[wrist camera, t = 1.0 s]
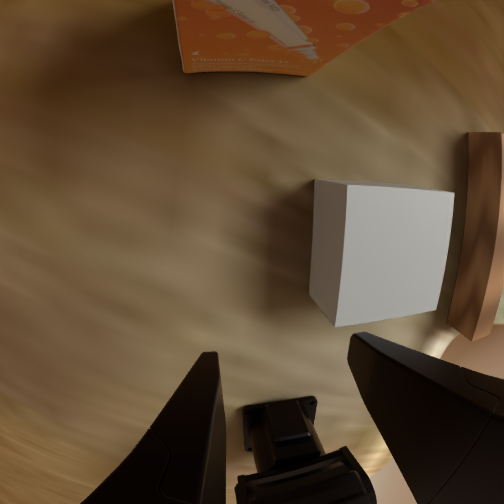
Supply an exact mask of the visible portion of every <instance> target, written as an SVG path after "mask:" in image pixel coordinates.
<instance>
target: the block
mask: <svg viewBox="0 0 504 504" xmlns="http://www.w3.org/2000/svg"><path fill="white" fill-rule="evenodd" d="M453 205H454V193H453V192H448V191H442V190H437V189H432V188H427V187H421V186H415V185H408V184H396V183H382V182H367V181H350V180H327V179H315V183H314V214H313V237H312V255H311V271H310V286H309V295H310V296H311V298H312V299H313V300H314V302H315V303H316V304H317V305H318V307H319V308H320V309H321V310H322V312H323V313H324V314H325V315H326V317H327V318H328V319H329V321H330V322H331V323H332V324H333V326H334V327H341V326H348V325H355V324H362V323H368V322H374V321H380V320H386V319H392V318H397V317H403V316H408V315H413V314H419V313H424V312H428V311H433V310H436V308H437V304H438V299H439V295H440V290H441V286H442V281H443V276H444V271H445V265H446V259H447V253H448V247H449V240H450V233H451V225H452V216H453Z"/></svg>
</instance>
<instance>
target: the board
mask: <svg viewBox="0 0 504 504" xmlns="http://www.w3.org/2000/svg"><path fill="white" fill-rule="evenodd" d="M468 151H469V159H468V190H467V205H466V217H465V226H464V235H463V242H462V249H461V256H460V262H459V268H458V273H457V279H456V284H455V288H454V293H453V298H452V302H451V306H450V310H449V315H448V318H447V322H446V323H448V324H449V325H450V326H452V327H453V328H454V329H456V330H457V331H458V332H460V333H461V334H462V335H464V336H465V337H466V338H468V339H469V340H470V341H475V340H477V339H480V338H482V337H484V336H486V335H489V334H490V331H491V328H492V325H493V322H494V319H495V315H496V312H497V308H498V305H499V301H500V297H501V293H502V289H503V285H504V133H498V132H468Z"/></svg>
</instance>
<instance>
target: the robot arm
mask: <svg viewBox="0 0 504 504" xmlns="http://www.w3.org/2000/svg"><path fill="white" fill-rule="evenodd" d="M347 360H348V364H349V367H350V369H351V372H352V374H353V377H354V379H355V382H356V384H357V387H358V389H359V392H360V394H361V397H362V399H363V401H364V404H365V406H366V408H367V409H368V411H369V413H370V415H371V417H372V419H373V420H374V422H375V424H376V426H377V428H378V430H379V432H380V433H381V435H382V437H383V439H384V441H385V443H386V445H387V446H388V448H389V450H390V452H391V454H392V456H393V458H394V460H395V462H396V463H397V465H398V467H399V469H400V471H401V473H402V475H403V477H404V479H405V481H406V482H407V484H408V486H409V488H410V490H411V492H412V494H413V496H414V498H415V500H416V502H417V504H504V379H500V378H497V377H493V376H489V375H485V374H482V373H479V372H476V371H472V370H470V369H467V368H464V367H461V368H460V366H458V365H455V364H452V363H449V362H446V361H444V360H441V359H438V358H435V357H432V356H430V355H427V354H424V353H421V352H418V351H416V350H413V349H410V348H407V347H405V346H402V345H399V344H397V343H394V342H391V341H389V340H386V339H383V338H381V337H378V336H375V335H373V334H370V333H367V332H359V333H354V334H353V335H352V336H351V338H350V344H349V350H348V357H347ZM311 401H312V402H311ZM316 407H317V399H316V398H315V397H314V396H309V397H304V398H298V399H292V400H286V401H280V402H273V403H266V404H258V405H250V406H245V407H244V408H243V409H242V415H243V431H244V446H245V450H246V451H247V452H253V456H254V460H255V465H256V469H257V473H255V474H250V475H240V476H238V484H236V487H234V488H235V494H236V501H237V504H377V500H376V495H375V491H374V488H373V486H372V483H371V481H370V479H369V477H368V475H367V474H366V472H365V471H364V470H363V468H362V467H361V466H360V464H359V463H358V462H357V460H356V459H355V457H354V456H353V455H352V453H351V452H350V451H349V449H348V448H347V446H344V447H342V448H339V450H336V451H333V452H331V453H328V454H326V453H325V451H324V449H323V447H322V444H321V442H320V440H319V438H318V435H317V433H316V431H315V428H314V426H313V425H314V419H315V413H316ZM247 411H249V412H247ZM80 504H226V421H225V412H224V404H223V395H222V386H221V376H220V368H219V359H218V353H217V352H216V351H213V352H203V353H202V354H201V355H200V356H199V358H198V359H197V361H196V362H195V364H194V365H193V366H192V368H191V369H190V371H189V372H188V374H187V375H186V377H185V378H184V379H183V381H182V382H181V384H180V385H179V387H178V388H177V389H176V391H175V392H174V394H173V395H172V397H171V398H170V399H169V401H168V402H167V404H166V405H165V406H164V408H163V409H162V411H161V412H160V414H159V415H158V416H157V418H156V419H155V421H154V422H153V423H152V425H151V426H150V429H148V430H147V432H146V433H145V434H144V436H143V437H142V439H141V440H140V441H139V442H138V444H137V445H136V446H135V448H134V449H133V450H132V452H131V453H130V454H129V455H128V456H127V457H126V458H125V459H124V460H123V462H122V463H121V464H120V465H119V466H118V467H117V468H116V469H115V470H114V471H113V472H112V473H111V474H110V475H109V476H108V477H107V478H106V479H105V480H104V481H103V482H102V483H101V484H100V485H99V486H98V487H97V488H96V489H95V490H94V491H93V492H92V493H91V494H90V495H89V496H88V497H87V498H86V499H85V500H84V501H83V502H81V503H80Z"/></svg>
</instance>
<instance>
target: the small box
mask: <svg viewBox="0 0 504 504" xmlns="http://www.w3.org/2000/svg"><path fill="white" fill-rule="evenodd" d="M431 1H433V0H173V8H174V15H175V21H176V28H177V35H178V43H179V49H180V54H181V59H182V65H183V71H184V73H196V72H213V71H247V72H266V73H280V74H290V75H299V76H310V75H312V74H313V73H314V72H316V71H317V70H319V69H320V68H322V67H323V66H324V65H326V64H327V63H329V62H330V61H332V60H333V59H335V58H336V57H338V56H339V55H341V54H342V53H344V52H345V51H347V50H348V49H350V48H351V47H353V46H355V45H356V44H358V43H359V42H361V41H362V40H364V39H366V38H367V37H369V36H371V35H372V34H374V33H375V32H377V31H379V30H380V29H382V28H384V27H385V26H387V25H389V24H391V23H393V22H394V21H396V20H398V19H400V18H401V17H403V16H405V15H407V14H409V13H410V12H412V11H414V10H416V9H418V8H420V7H422V6H424V5H426V4H428V3H430V2H431Z"/></svg>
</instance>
